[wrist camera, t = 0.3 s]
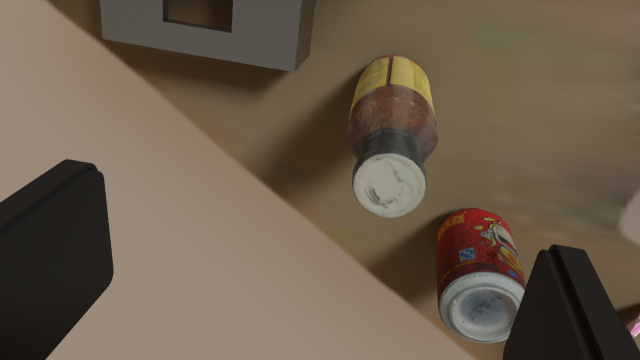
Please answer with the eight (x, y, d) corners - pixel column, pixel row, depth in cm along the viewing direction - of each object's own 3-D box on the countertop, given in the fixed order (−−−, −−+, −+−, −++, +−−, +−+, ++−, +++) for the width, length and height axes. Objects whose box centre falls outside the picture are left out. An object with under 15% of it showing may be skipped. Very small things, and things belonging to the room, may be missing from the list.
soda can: (526, 226, 49) (554, 312, 39) (476, 273, 53) (490, 364, 42) (466, 186, 49) (478, 262, 38) (420, 236, 52) (419, 319, 41)
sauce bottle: (360, 120, 48) (324, 236, 30) (357, 52, 45) (315, 136, 27) (433, 119, 46) (439, 239, 29) (434, 49, 44) (442, 134, 26)
